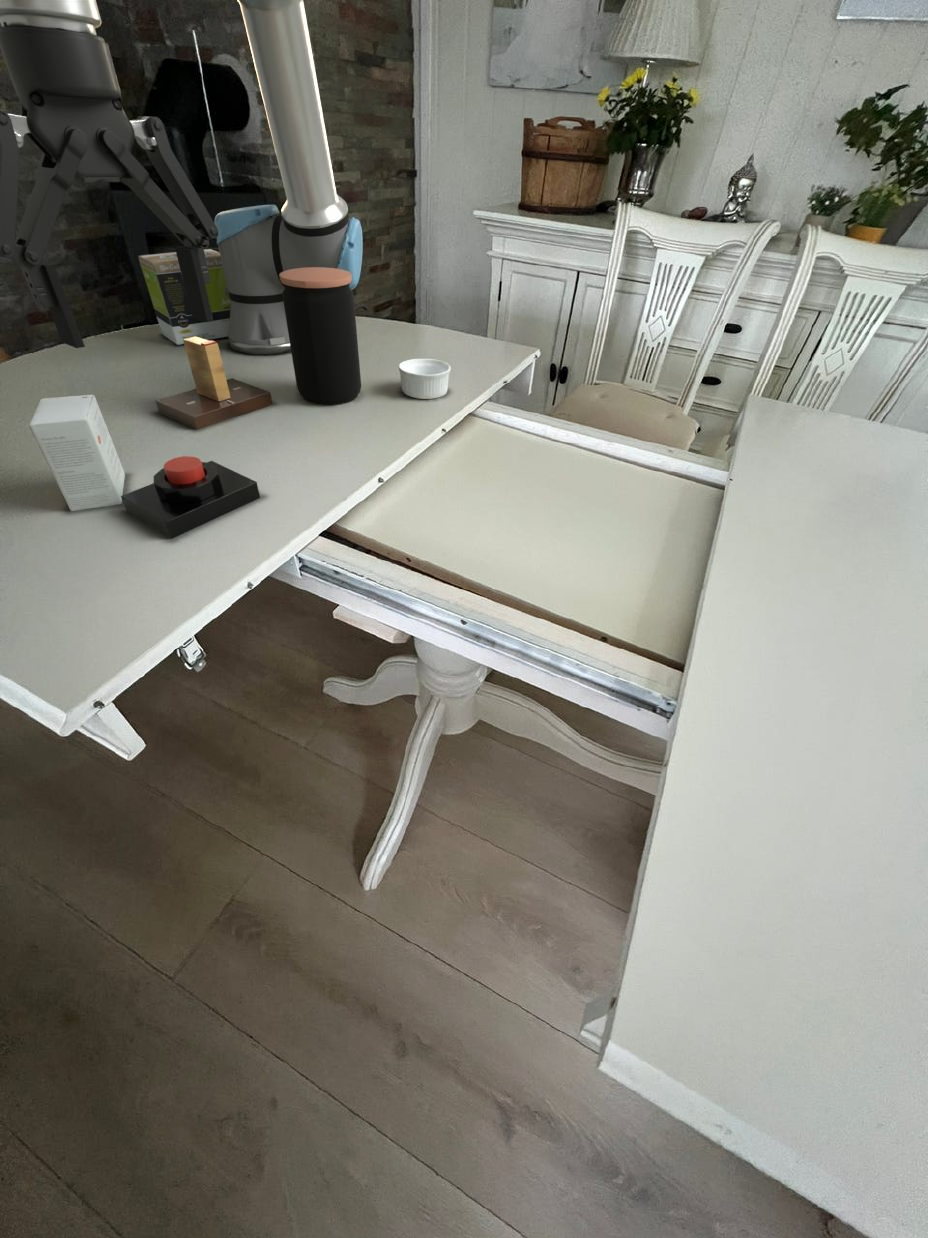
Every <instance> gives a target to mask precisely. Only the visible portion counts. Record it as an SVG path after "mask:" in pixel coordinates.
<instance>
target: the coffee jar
mask: <svg viewBox="0 0 928 1238" xmlns="http://www.w3.org/2000/svg"><path fill="white" fill-rule="evenodd" d="M279 276H280V281H281V282H282V283H283V284H284V287H285V289H284V290H283V292H282V296H283V303H284V309H285V315H286V322H287V328H288V334H289V340H290V347H291V351H290V353H291V358H292V364H293V371H294V378H295V384H296V389H297V391H298V394H299V395H300V396H301V397H302V398H303V400H304V401H306V402H307V403H310V404H314V405H319V406H336V405H343V404H348V403H350V402H352V401H355V400H356V399H357V398H358V396H359V395H360V393H361V390H362V378H361V377H362V376H361V367H360V355H359V354H360V353H359V343H358V342H359V341H358V332H357V331H358V330H357V319H356V311H355V306H356V305H355V297H354V296H355V295H354V291H353V290H351V289H350V287H349V284H350V283H351V281H352V274H351V273H350V272H348V271H345V270H342V269H336V268H326V267H307V268H295V269H290V270H286V271H283V272H281V273H280V274H279Z"/></svg>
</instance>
